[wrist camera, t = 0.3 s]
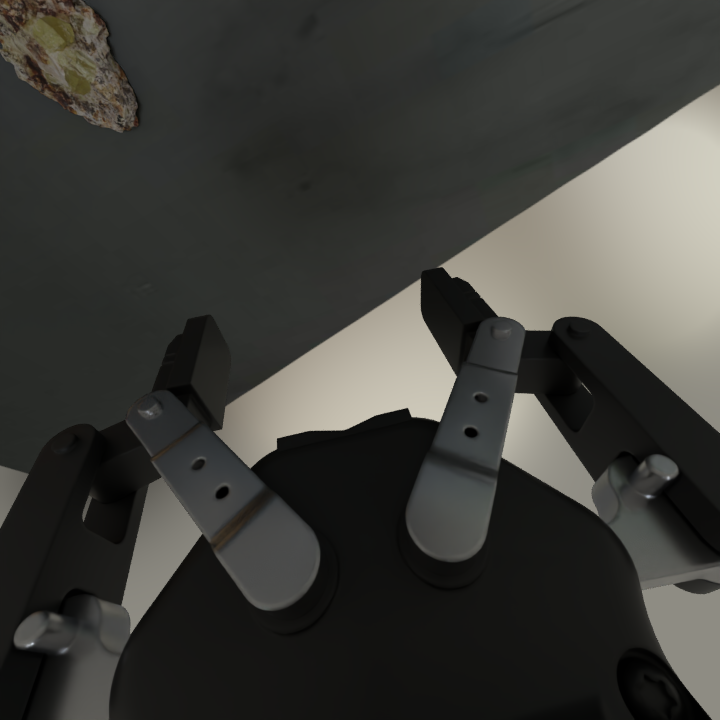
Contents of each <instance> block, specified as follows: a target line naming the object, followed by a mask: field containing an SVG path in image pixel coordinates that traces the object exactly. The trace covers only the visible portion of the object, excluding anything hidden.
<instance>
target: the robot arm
mask: <svg viewBox="0 0 720 720" xmlns="http://www.w3.org/2000/svg"><path fill="white" fill-rule="evenodd" d="M421 312H422V316H423V319H424V321H425V323H426V325H427V326H428V328H429V330H430V331H431V333H432V335H433V337H434V338H435V340H436V342H437V343H438V345H439V347H440V348H441V350H442V352H443V354H444V355H445V357H446V359H447V361H448V362H449V364H450V366H451V367H452V369H453V371H454V372H455V374H456V376H457V378H456V381H455V383H454V386H453V389H452V392H451V394H450V397H449V400H448V402H447V405H446V408H445V410H444V413H443V416H442V419H441V421H440V422H437V421H434V420H430V419H426V418H417V417H411V415H410V412H409V410H408V408H406V409H402V410H397V411H393V412H389V413H384V414H380V415H376V416H374V417H372V418H370V419H368V420H366V421H364V422H362V423H360V424H357V425H355V426H353V427H351V428H349V429H347V430H342V431H307V432H303V433H299V434H294V435H290V436H286V437H282V438H277V450H275V451H273V452H271V453H269V454H268V455H266V456H265V457H263V458H262V459H261V460H259V461H258V462H257V463H256V464H255V465H254V466H253V467H252V468H251V469H250V468H249V467H248V466H247V465H246V464H245V463H244V462H243V461H242V460H241V459H240V458H239V457H238V456H237V455H236V454H235V453H234V452H233V451H232V450H231V449H230V448H229V447H228V446H227V445H226V444H225V443H224V442H223V441H222V440H221V439H220V438H219V437H218V436H217V435H216V434H215V433H214V432H213V431H216V430H220V429H222V426H223V419H224V412H225V404H226V397H227V389H228V382H229V374H230V367H231V355H230V351H229V348H228V346H227V344H226V342H225V340H224V338H223V336H222V334H221V332H220V330H219V328H218V326H217V324H216V322H215V320H214V319H213V317H212V316H211V315H205V316H200V317H195V318H190V319H188V320H187V323H186V326H185V329H184V332H183V334H180V335H177V336H176V337H175V338H174V339H173V341H172V342H171V343H170V344H169V345H168V348H167V350H166V353H165V357H164V359H163V361H162V366H161V367H160V370H159V372H158V375H157V378H156V381H155V384H154V386H153V389H152V392H151V393H149V394H146V395H144V396H143V397H141V398H140V399H138V400H137V401H136V402H135V403H134V404H133V405H132V406H131V407H130V408H129V410H128V411H127V414H126V418H125V419H126V420H124V421H122V422H119V423H117V424H115V425H113V426H110V427H108V428H106V429H104V430H102V431H97V430H96V429H95V428H94V427H93V426H91V425H89V424H78V425H75V426H72V427H69V428H67V429H65V430H63V431H61V432H60V433H58V434H57V435H56V436H54V437H53V438H52V439H51V440H50V441H49V442H48V443H47V444H46V445H45V446H44V447H43V449H42V450H41V452H40V454H39V456H38V458H37V460H36V461H35V463H34V465H33V467H32V469H31V471H30V473H29V475H28V477H27V479H26V481H25V482H24V484H23V486H22V488H21V490H20V492H19V494H18V496H17V498H16V500H15V502H14V503H13V505H12V507H11V509H10V511H9V513H8V515H7V517H6V519H5V521H4V523H3V524H2V526H1V528H0V720H712V719H711V718H710V717H709V715H707V713H706V712H705V711H704V709H703V708H702V707H701V706H700V705H699V703H698V702H697V701H696V700H695V698H693V696H692V695H691V694H690V692H689V691H688V690H687V689H686V687H685V686H684V685H683V683H682V682H681V681H680V679H679V678H678V676H677V675H676V674H675V672H674V671H673V669H672V667H671V666H670V664H669V663H668V661H667V659H666V657H665V655H664V653H663V651H662V649H661V647H660V644H659V642H658V640H657V638H656V636H655V633H654V631H653V628H652V625H651V623H650V620H649V618H648V614H647V611H646V607H645V604H644V600H643V595H642V590H645V589H649V588H654V587H660V586H665V585H670V584H673V585H675V586H677V587H679V588H681V589H683V590H685V591H688V592H691V593H696V594H706V593H710V592H713V591H715V590H718V589H720V433H719V432H718V431H716V430H715V429H714V428H713V427H712V426H711V425H710V424H709V423H708V422H706V421H705V420H704V419H703V418H702V417H701V416H700V415H699V414H697V413H696V412H695V411H694V410H693V409H692V408H691V407H690V406H689V405H688V404H686V403H685V402H684V401H683V400H682V399H681V398H680V397H679V396H677V395H676V394H675V393H674V392H673V391H672V390H671V389H670V388H669V387H668V386H666V385H665V384H664V383H663V382H662V381H661V380H660V379H659V378H657V377H656V376H655V375H654V374H653V373H652V372H651V371H650V370H649V369H647V368H646V367H645V366H644V365H643V364H642V363H641V362H640V361H638V360H637V359H636V358H635V357H634V356H633V355H632V354H631V353H629V351H627V350H626V349H625V348H624V347H623V346H622V345H621V344H619V342H617V341H616V340H615V339H614V338H613V337H612V336H611V335H610V334H609V333H607V332H606V331H605V330H604V329H603V328H602V327H601V326H599V325H598V324H597V323H595V322H593V321H591V320H588V319H585V318H580V317H564V318H561V319H558V320H557V321H556V322H555V323H554V324H553V327H552V330H551V331H528V330H525V329H524V327H523V326H522V325H521V324H520V323H519V322H517V321H515V320H513V319H510V318H506V317H498V316H497V315H496V313H495V312H494V311H493V310H492V309H491V308H490V307H489V306H488V304H487V303H485V301H484V300H483V299H482V298H480V295H479V294H478V293H477V292H475V290H474V289H473V287H472V286H471V285H470V284H469V283H468V282H466V281H464V280H462V279H460V278H458V277H455V278H451V277H450V276H449V274H448V273H447V272H446V271H445V269H444V268H442V267H440V268H435V269H430V270H425V271H423V272H422V274H421ZM582 383H583V384H584V385H585V386H586V388H587V389H588V390H589V391H590V393H591V394H590V393H589V392H588V391H587V389H586V388H585V387H584V386H583V385H582ZM514 393H529V394H534V395H535V396H536V398H537V399H538V400H539V402H540V403H541V405H542V406H543V408H544V409H545V411H546V412H547V413H548V415H549V416H550V418H551V419H552V420H553V422H554V423H555V425H556V426H557V428H558V429H559V431H560V432H561V434H562V435H563V436H564V438H565V439H566V441H567V442H568V444H569V445H570V447H571V448H572V449H573V451H574V452H575V453H576V455H577V456H578V458H579V459H580V461H581V462H582V464H583V465H584V466H585V468H586V469H587V471H588V472H589V474H590V475H591V477H592V478H593V480H594V481H595V484H594V485H593V488H592V499H593V502H594V504H595V506H596V508H597V510H598V514H599V517H598V516H597V515H596V514H595V513H594V512H592V511H591V510H589V509H588V508H586V507H585V506H583V505H582V504H580V503H578V502H576V501H575V500H573V499H571V498H570V497H568V496H566V495H564V494H563V493H561V492H559V491H558V490H556V489H554V488H552V487H551V486H549V485H548V484H546V483H544V482H542V481H541V480H539V479H537V478H536V477H534V476H532V475H531V474H529V473H527V472H526V471H524V470H522V469H520V468H519V467H517V466H515V465H514V464H512V463H510V462H508V461H507V460H505V459H503V458H502V452H503V447H504V442H505V437H506V432H507V427H508V423H509V418H510V413H511V408H512V403H513V398H514ZM161 477H162V478H163V479H164V480H165V482H166V483H167V485H168V486H169V487H170V489H171V490H172V492H173V493H174V494H175V496H176V497H177V499H178V500H179V501H180V503H181V504H182V505H183V507H184V508H185V510H186V511H187V512H188V514H189V515H190V516H191V518H192V519H193V521H194V522H195V524H196V525H197V526H198V528H199V529H200V530H201V532H202V533H203V534H202V535H201V537H200V538H199V539H198V541H197V542H196V544H195V545H194V546H193V548H192V549H191V550H190V552H189V553H188V555H187V556H186V557H185V559H184V560H183V562H182V563H181V564H180V566H179V567H178V569H177V570H176V571H175V573H174V574H173V576H172V577H171V579H170V580H169V581H168V582H167V584H166V585H165V587H164V588H163V590H162V591H161V592H160V594H159V595H158V597H157V598H156V599H155V601H154V602H153V603H152V605H151V606H150V607H149V609H148V610H147V612H146V613H145V614H144V616H143V617H142V619H141V620H140V622H139V623H138V625H137V626H136V627H135V629H134V630H133V632H132V633H131V634H130V617H129V613H128V612H127V610H126V609H125V608H124V607H122V606H121V604H122V600H123V596H124V590H125V587H126V582H127V578H128V573H129V569H130V564H131V560H132V556H133V551H134V546H135V542H136V538H137V534H138V529H139V525H140V521H141V516H142V512H143V507H144V503H145V498H146V493H147V490H148V485H149V484H150V483H152V482H154V481H155V480H157V479H159V478H161ZM89 495H90V496H91V497H92V500H91V502H90V505H89V508H88V511H87V514H86V517H85V520H84V522H83V519H82V513H83V509H84V507H85V504H86V501H87V498H88V496H89Z"/></svg>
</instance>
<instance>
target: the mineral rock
mask: <svg viewBox="0 0 720 720" xmlns="http://www.w3.org/2000/svg"><path fill="white" fill-rule="evenodd" d="M108 35H109V33H108V31H107V29H106V26H105V22H104V21H103V20H101V18H100V17H99V15H98V14H95V13H94V10H93V9H91V7H90V6H87V4H86V3H85V2H84V1H82V0H0V42H1V44H2V45H3V49H0V52H1V54H2V56H3V58H4V59H5V60H6V61H7V62H11V63H12V64H13V65H14V68H15V71H16V74H17V76H18V78H19V79H21V80H23V81H26V82H27V83H29V84H30V85H31V86H32V87H34V88H35V89H37V90H39V92H40V93H41V94H43V95H45V96H47V97H48V98H49V99H53V100H54V101H58V102H59V103H60V104H61V106H62V107H63V108H64V109H68V110H69V111H70V112H71V113H74V114H78V115H80V116H83V117H84V118H85V119H86V120H87V121H88V123H90V124H94V125H99V127H100V128H103V127H108V128H111V129H113V130H115V131H117V132H121V133H122V132H123V131H124V130H129V131H131V128H132V127H138V118H137V117H136V115H135V112H136V111H137V108H138V105H137V102H136V97H135V94H134V92H133V89H132V88H131V86H130V85H129V83H128V80H127V77H126V75H125V73H124V71H123V70H122V68H121V67H120V66H119V64H118V63H117V62H116V61H115V59H114V58H113V57H112V55H111V54H110V47H109V46H108V45H107V43H106V42H107V40H106V37H108Z"/></svg>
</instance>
